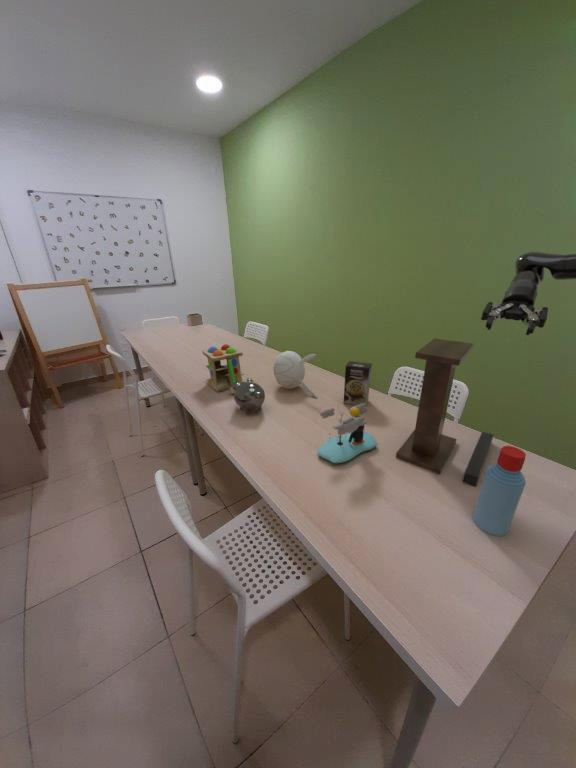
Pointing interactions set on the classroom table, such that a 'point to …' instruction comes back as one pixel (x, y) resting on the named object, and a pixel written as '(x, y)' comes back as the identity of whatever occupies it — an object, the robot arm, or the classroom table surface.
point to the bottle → (498, 499)
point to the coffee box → (357, 383)
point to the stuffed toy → (291, 370)
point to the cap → (511, 458)
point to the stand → (434, 405)
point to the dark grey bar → (477, 459)
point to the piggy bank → (248, 396)
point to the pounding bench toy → (223, 367)
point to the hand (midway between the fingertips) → (508, 329)
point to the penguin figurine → (347, 437)
